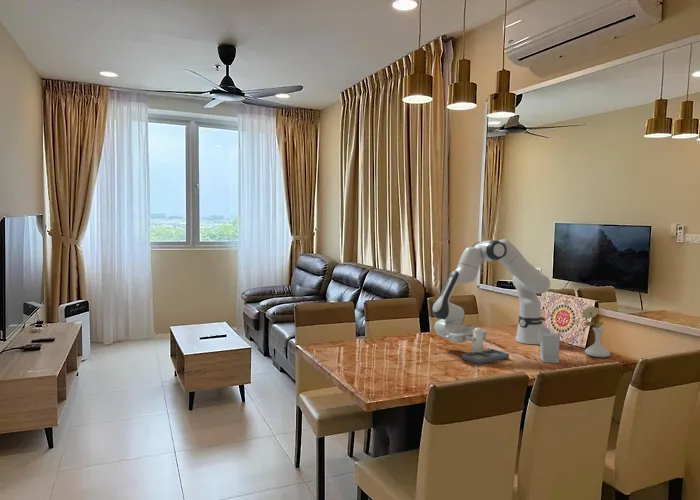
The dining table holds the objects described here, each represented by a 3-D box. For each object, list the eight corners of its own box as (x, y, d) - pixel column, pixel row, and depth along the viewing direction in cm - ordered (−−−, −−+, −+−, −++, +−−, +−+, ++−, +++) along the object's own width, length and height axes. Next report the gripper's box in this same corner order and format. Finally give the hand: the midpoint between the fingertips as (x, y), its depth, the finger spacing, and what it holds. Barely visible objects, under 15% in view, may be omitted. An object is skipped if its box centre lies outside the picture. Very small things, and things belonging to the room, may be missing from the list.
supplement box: (559, 363, 226) (560, 336, 225) (542, 362, 227) (543, 336, 227) (555, 358, 233) (556, 333, 232) (539, 357, 235) (540, 332, 234)
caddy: (492, 353, 242) (492, 348, 242) (508, 358, 233) (508, 353, 233) (462, 359, 232) (462, 354, 232) (478, 364, 223) (478, 359, 223)
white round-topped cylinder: (477, 349, 233) (478, 326, 233) (484, 351, 229) (485, 328, 228) (470, 350, 231) (470, 327, 230) (477, 352, 227) (478, 329, 226)
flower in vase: (608, 354, 242) (609, 305, 240) (612, 360, 231) (613, 308, 229) (579, 351, 246) (580, 303, 245) (582, 357, 235) (584, 307, 234)
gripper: (443, 329, 236) (463, 334, 223) (474, 325, 246) (494, 330, 234) (443, 341, 236) (462, 348, 224) (473, 337, 246) (494, 343, 234)
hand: (479, 338), depth 229 cm, fingers closed on white round-topped cylinder, 5 cm apart
